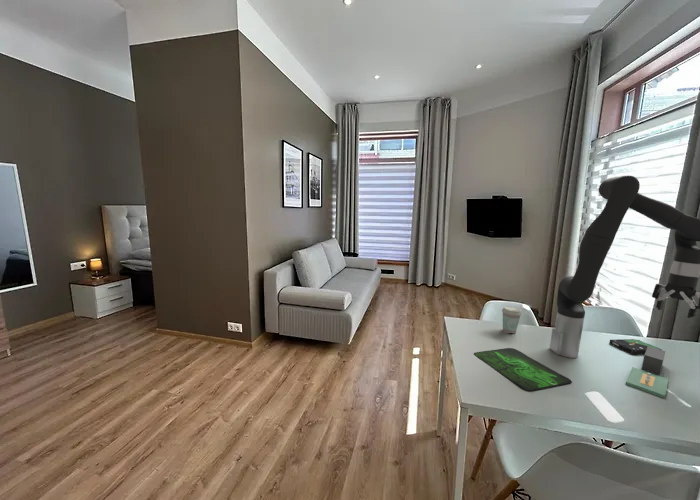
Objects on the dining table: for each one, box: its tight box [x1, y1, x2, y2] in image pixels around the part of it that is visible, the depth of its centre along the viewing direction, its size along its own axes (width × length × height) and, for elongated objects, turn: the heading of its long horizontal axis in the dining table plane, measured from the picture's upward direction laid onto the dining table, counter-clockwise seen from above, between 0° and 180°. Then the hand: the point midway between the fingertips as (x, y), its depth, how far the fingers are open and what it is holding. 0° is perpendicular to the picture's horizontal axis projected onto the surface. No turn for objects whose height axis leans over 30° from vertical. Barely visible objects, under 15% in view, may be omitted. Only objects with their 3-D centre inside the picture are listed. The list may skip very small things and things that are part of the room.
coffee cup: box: [501, 305, 523, 334], centre depth 145 cm, size 8×8×12 cm
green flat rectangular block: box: [625, 366, 669, 399], centre depth 105 cm, size 10×16×2 cm, turn 130°
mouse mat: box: [473, 347, 573, 392], centre depth 113 cm, size 27×22×1 cm
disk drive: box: [608, 338, 663, 356], centre depth 132 cm, size 10×3×15 cm
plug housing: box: [641, 347, 666, 376], centre depth 116 cm, size 5×12×6 cm, turn 130°
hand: (674, 313), depth 115 cm, fingers open, 8 cm apart
